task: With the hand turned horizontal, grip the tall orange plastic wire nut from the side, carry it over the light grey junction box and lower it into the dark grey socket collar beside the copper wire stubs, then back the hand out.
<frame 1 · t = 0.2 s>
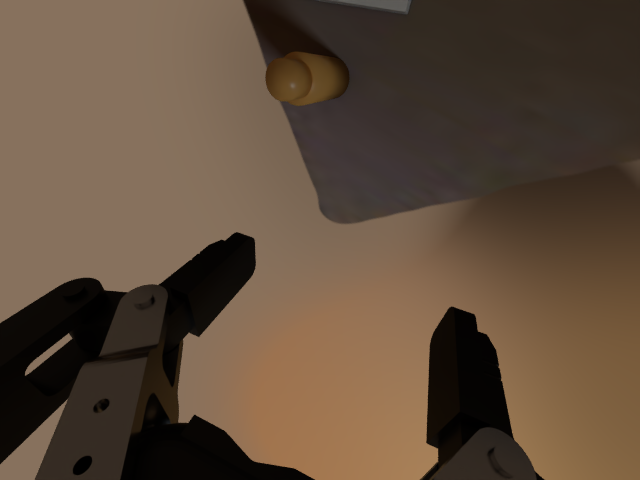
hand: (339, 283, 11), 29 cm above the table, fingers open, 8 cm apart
wire nut: (332, 78, 33), on the table
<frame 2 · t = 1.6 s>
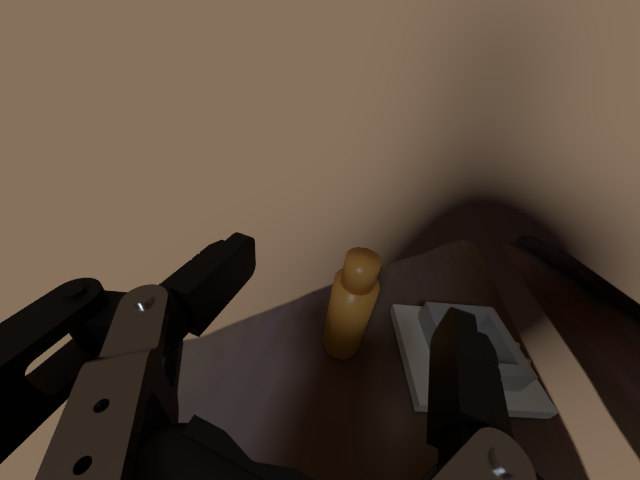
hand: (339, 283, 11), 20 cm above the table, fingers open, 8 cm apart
wire nut: (340, 341, 31), on the table
junction box: (458, 357, 31), on the table
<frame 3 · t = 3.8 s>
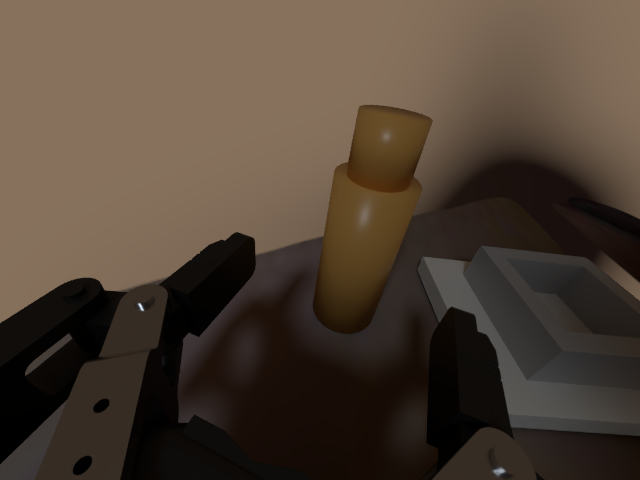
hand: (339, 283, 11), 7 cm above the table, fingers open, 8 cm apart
wire nut: (342, 306, 19), on the table
junction box: (533, 335, 19), on the table
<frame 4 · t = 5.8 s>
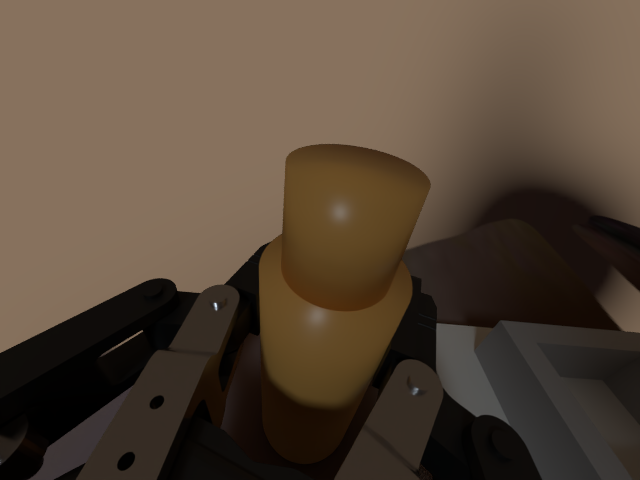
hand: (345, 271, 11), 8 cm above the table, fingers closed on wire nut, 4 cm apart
wire nut: (305, 409, 14), on the table, touching gripper
junction box: (575, 449, 14), on the table
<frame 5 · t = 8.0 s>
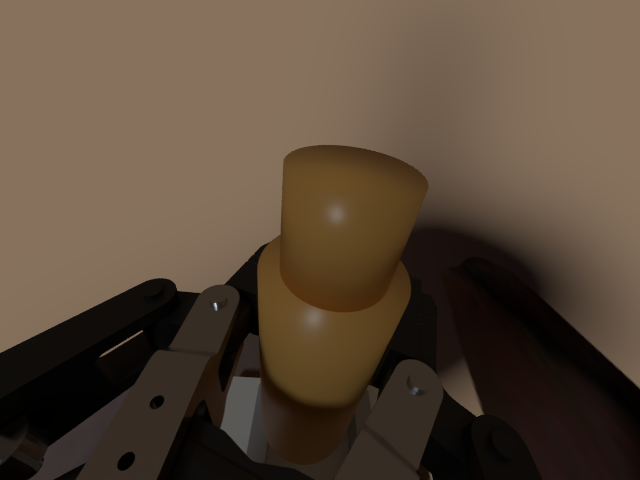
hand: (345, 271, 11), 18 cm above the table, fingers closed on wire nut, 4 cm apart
wire nut: (305, 410, 14), point 10 cm above the table, touching gripper
junction box: (306, 474, 19), on the table
when the fingers open (10 cm above the table, at t = 10.5 s): wire nut stays where it is, resting on junction box.
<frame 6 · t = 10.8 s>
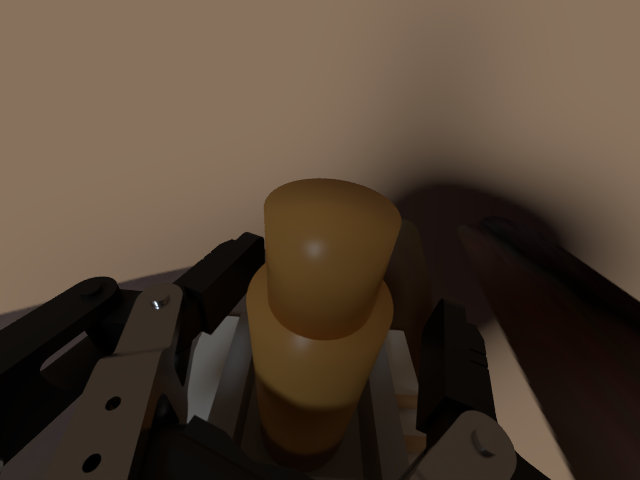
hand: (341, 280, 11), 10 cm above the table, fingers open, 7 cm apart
wire nut: (303, 418, 14), point 2 cm above the table, touching junction box
junction box: (301, 428, 15), on the table
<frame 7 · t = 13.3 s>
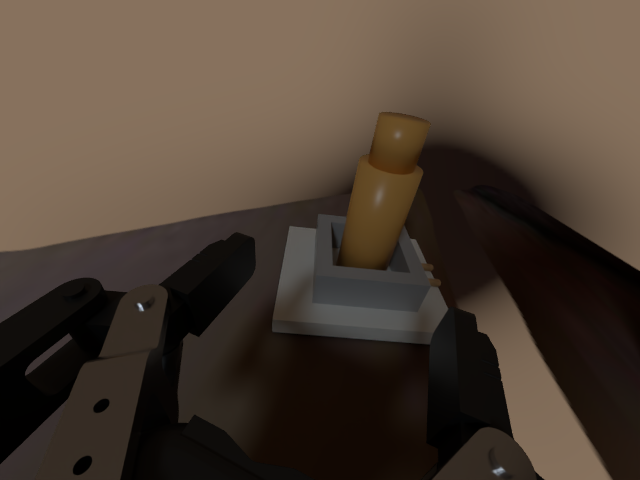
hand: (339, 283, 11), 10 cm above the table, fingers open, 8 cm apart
wire nut: (359, 271, 24), point 2 cm above the table, touching junction box
junction box: (356, 282, 25), on the table
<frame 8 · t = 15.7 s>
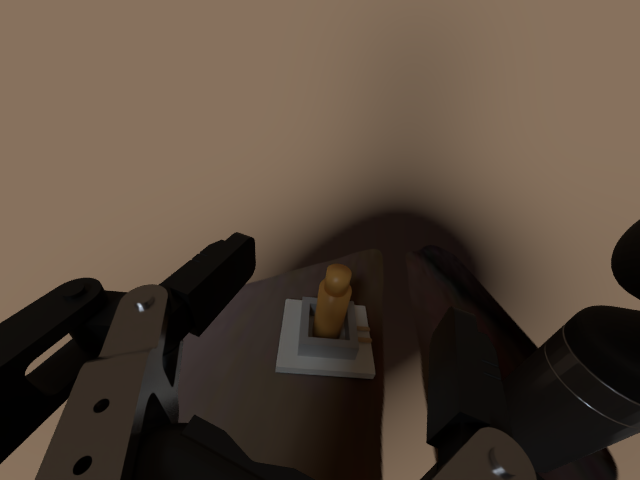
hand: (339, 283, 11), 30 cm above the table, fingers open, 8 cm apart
wire nut: (326, 332, 41), point 2 cm above the table, touching junction box
junction box: (324, 337, 42), on the table
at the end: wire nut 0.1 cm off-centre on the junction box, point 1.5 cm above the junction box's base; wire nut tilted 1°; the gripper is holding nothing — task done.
